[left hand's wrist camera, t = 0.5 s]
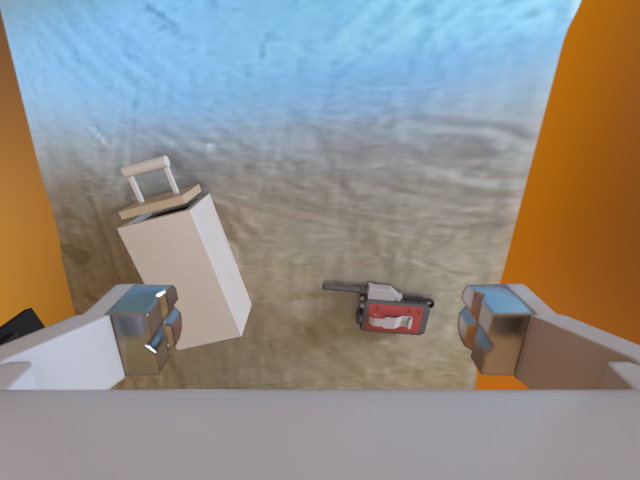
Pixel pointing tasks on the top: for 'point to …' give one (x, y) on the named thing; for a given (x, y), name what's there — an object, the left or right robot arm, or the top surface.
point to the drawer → (158, 200)
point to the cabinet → (191, 269)
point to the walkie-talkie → (388, 309)
